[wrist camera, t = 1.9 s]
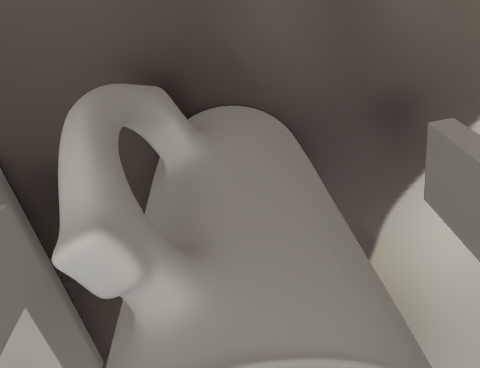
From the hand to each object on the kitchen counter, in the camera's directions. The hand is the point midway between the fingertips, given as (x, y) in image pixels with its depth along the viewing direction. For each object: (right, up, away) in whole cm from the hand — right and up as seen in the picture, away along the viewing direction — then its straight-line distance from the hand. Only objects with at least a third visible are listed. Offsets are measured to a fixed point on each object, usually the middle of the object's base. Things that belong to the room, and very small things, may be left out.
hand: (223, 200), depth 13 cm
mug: (-1, +2, +4) cm, 5 cm away
